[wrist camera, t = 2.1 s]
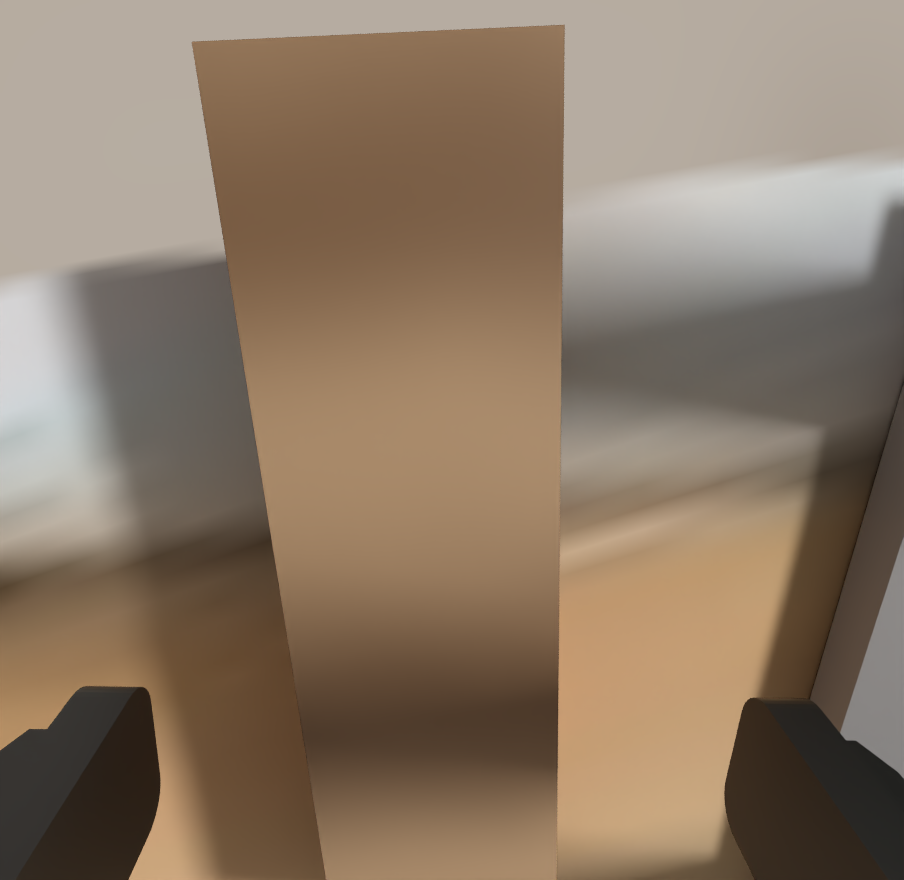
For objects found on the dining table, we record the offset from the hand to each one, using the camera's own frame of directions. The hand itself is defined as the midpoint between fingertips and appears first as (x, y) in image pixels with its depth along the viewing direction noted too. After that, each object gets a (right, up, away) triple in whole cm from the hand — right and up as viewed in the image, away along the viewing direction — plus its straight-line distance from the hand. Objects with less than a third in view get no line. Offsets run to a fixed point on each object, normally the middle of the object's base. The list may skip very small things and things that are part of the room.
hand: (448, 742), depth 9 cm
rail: (0, +2, +4) cm, 4 cm away
